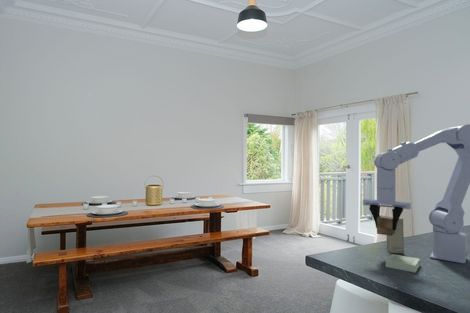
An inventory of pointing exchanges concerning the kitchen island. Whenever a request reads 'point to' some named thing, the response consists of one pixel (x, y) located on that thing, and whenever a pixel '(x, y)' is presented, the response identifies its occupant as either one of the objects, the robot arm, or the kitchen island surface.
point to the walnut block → (385, 225)
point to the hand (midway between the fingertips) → (386, 228)
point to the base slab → (403, 263)
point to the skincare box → (396, 239)
